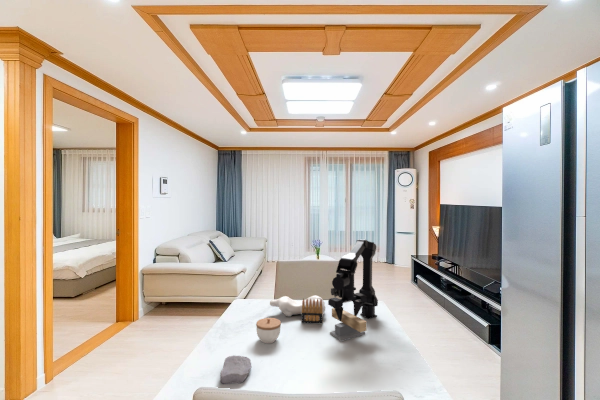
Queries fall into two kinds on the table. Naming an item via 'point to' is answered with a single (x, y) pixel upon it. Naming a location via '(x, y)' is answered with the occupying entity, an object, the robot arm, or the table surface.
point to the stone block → (235, 369)
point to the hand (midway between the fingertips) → (347, 318)
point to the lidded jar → (268, 329)
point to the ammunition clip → (312, 312)
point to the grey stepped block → (345, 332)
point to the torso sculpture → (294, 305)
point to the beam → (351, 320)
